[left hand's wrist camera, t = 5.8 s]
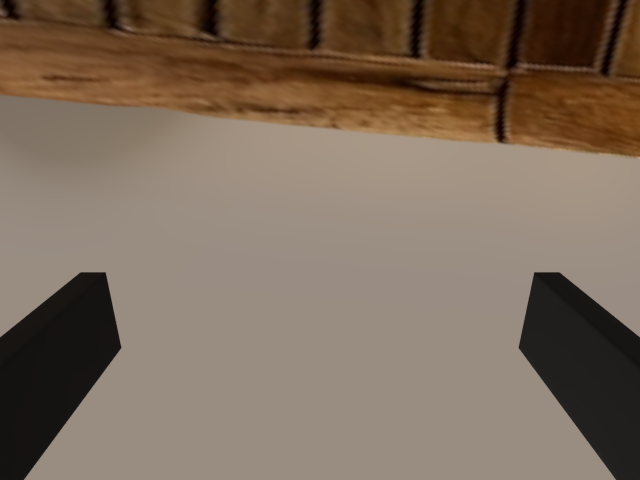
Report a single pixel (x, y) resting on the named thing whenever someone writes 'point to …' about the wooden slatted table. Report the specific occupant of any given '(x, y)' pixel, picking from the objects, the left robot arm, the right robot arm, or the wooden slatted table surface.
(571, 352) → the left robot arm
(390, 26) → the wooden slatted table surface
